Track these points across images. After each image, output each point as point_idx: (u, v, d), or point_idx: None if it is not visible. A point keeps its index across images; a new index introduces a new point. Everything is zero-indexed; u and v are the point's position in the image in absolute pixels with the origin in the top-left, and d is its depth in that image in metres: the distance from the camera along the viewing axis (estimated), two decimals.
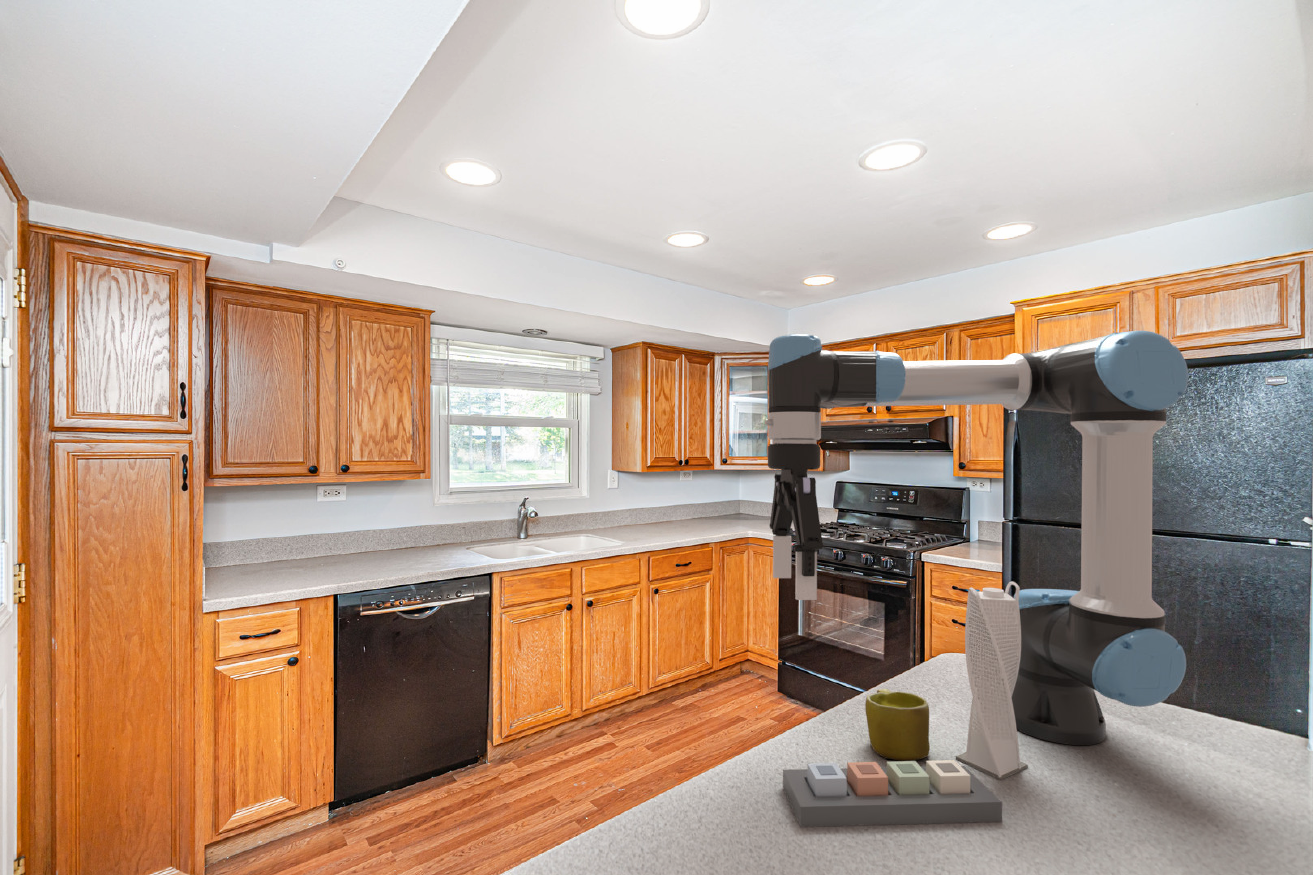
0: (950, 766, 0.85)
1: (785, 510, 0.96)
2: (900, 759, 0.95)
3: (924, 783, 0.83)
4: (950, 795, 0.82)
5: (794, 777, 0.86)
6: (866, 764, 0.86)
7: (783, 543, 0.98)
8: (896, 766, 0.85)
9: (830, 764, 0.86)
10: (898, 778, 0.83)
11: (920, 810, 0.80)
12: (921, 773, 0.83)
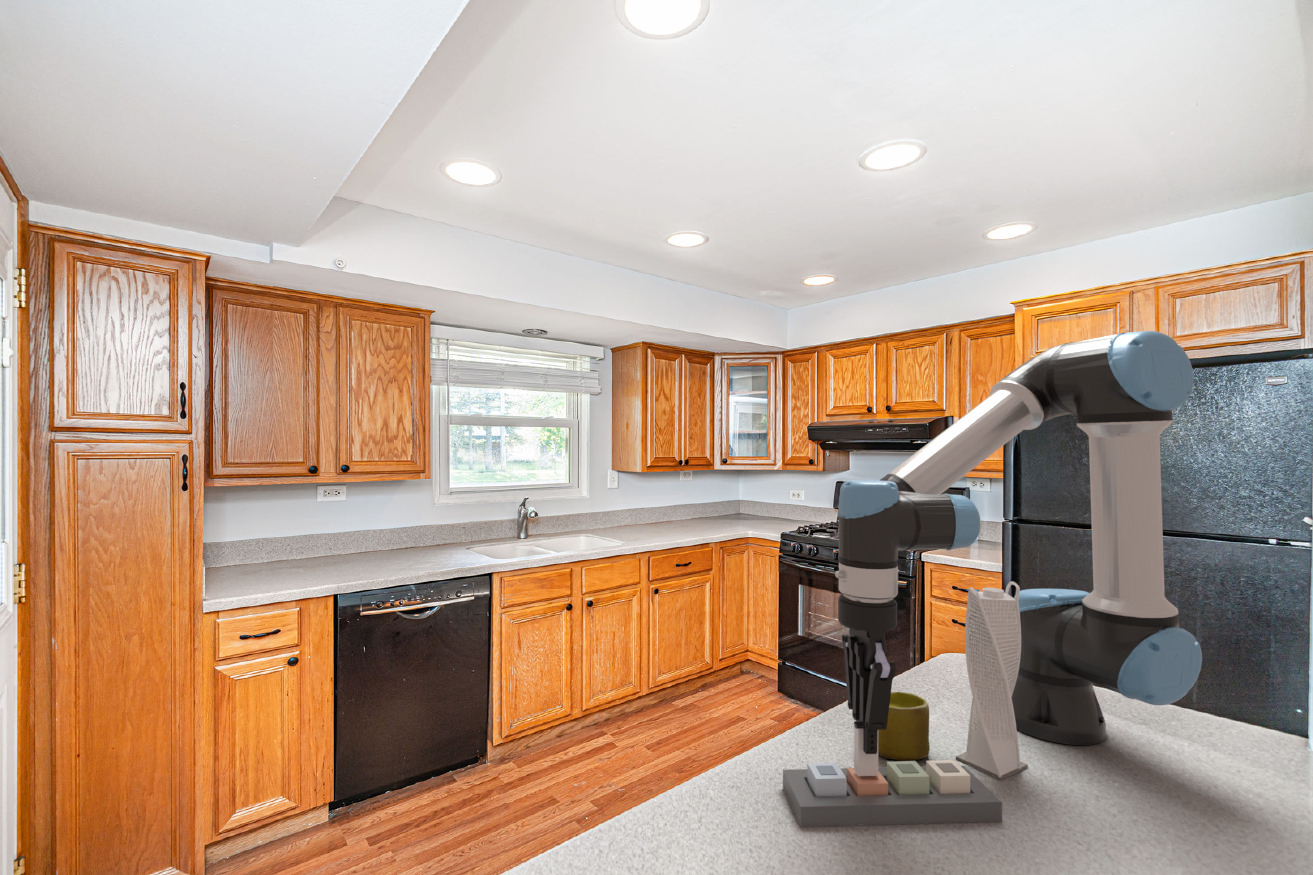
0: (950, 766, 0.85)
1: None
2: (900, 759, 0.95)
3: (924, 783, 0.83)
4: (950, 795, 0.82)
5: (794, 777, 0.86)
6: None
7: None
8: (896, 766, 0.85)
9: (830, 764, 0.86)
10: (898, 778, 0.83)
11: (920, 810, 0.80)
12: (921, 773, 0.83)
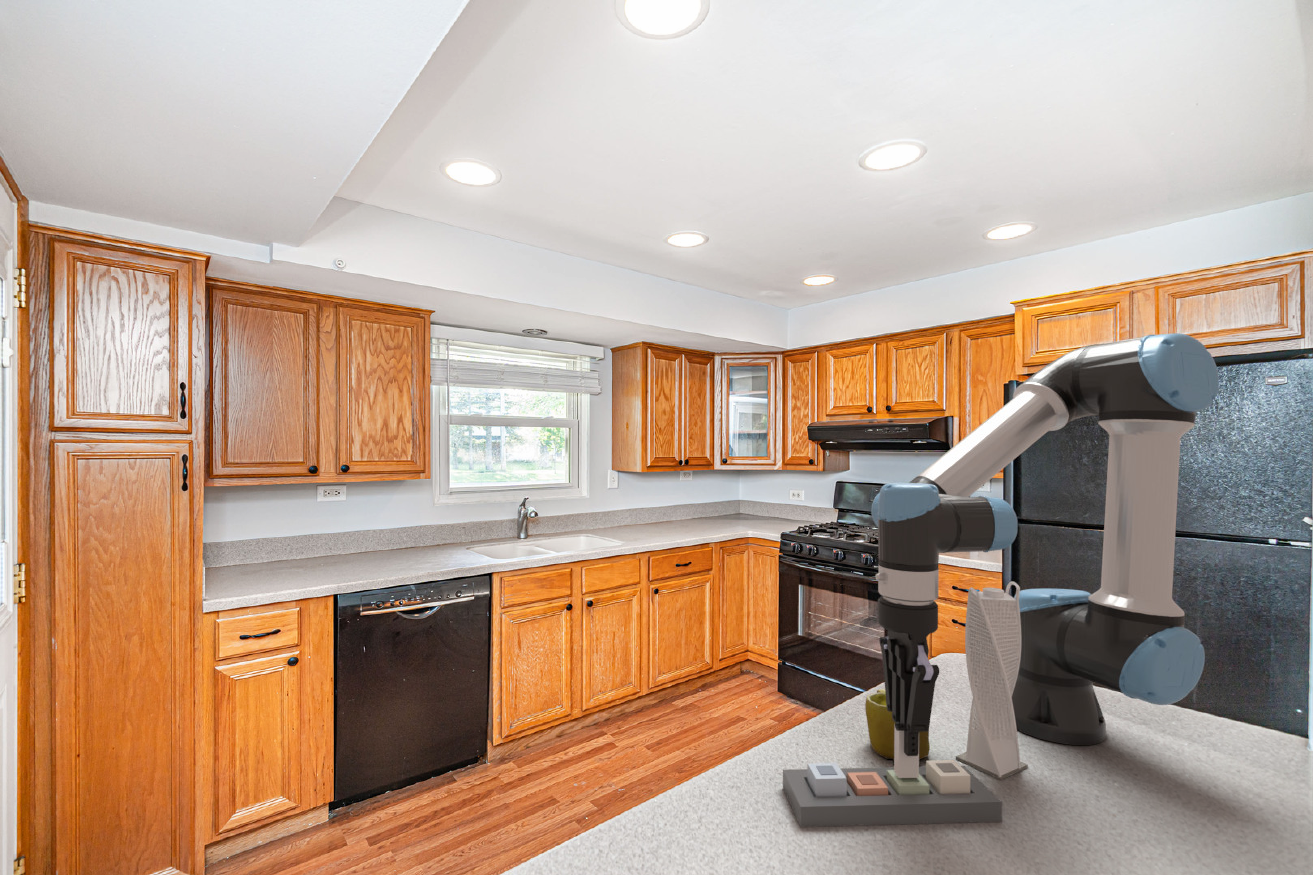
0: (950, 766, 0.85)
1: None
2: None
3: (924, 792, 0.83)
4: (950, 795, 0.82)
5: (794, 777, 0.86)
6: (866, 774, 0.86)
7: None
8: None
9: (830, 764, 0.86)
10: (898, 787, 0.83)
11: (920, 810, 0.80)
12: (921, 782, 0.83)
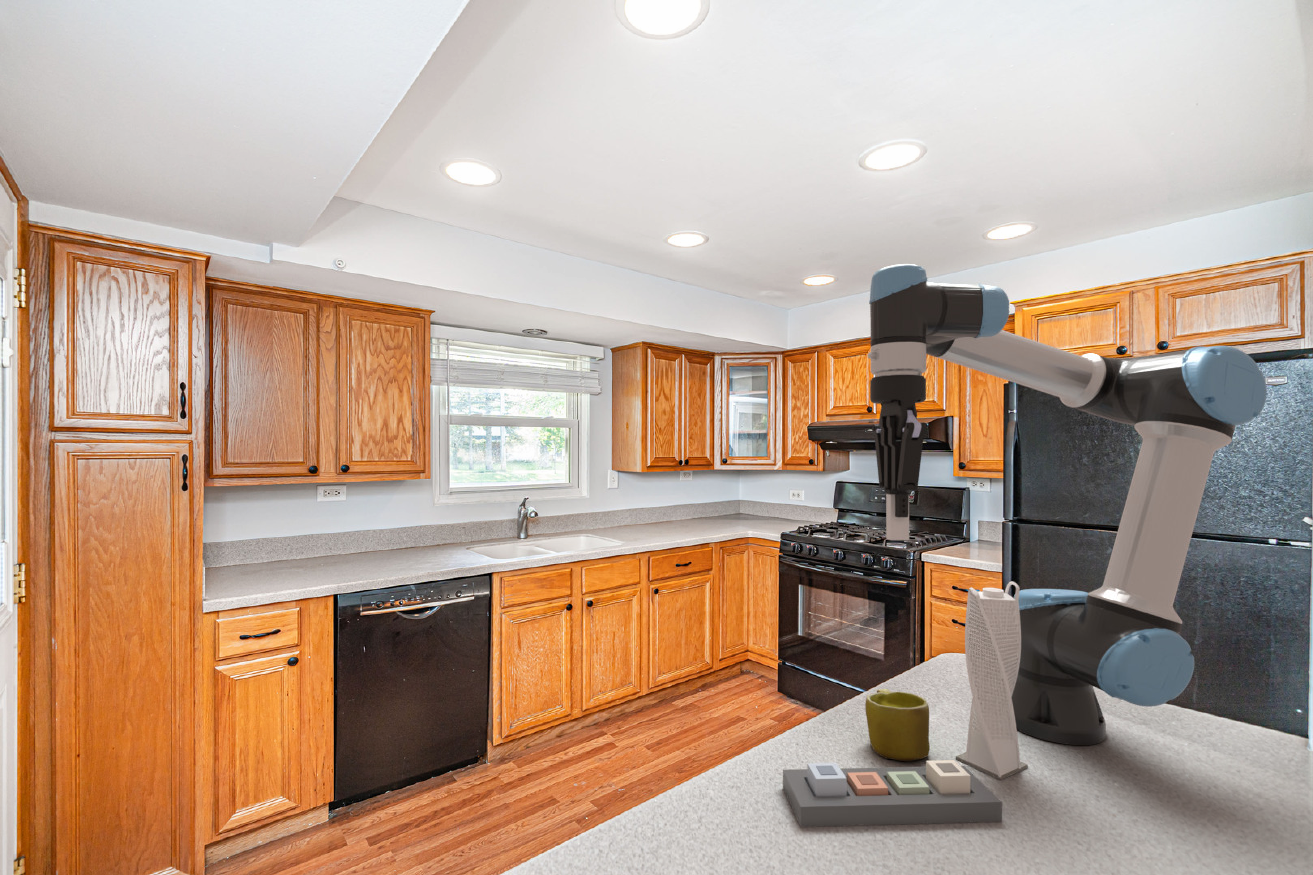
0: (950, 766, 0.85)
1: None
2: (900, 759, 0.95)
3: None
4: (950, 795, 0.82)
5: (794, 777, 0.86)
6: (866, 774, 0.86)
7: None
8: (896, 776, 0.85)
9: (830, 764, 0.86)
10: (898, 789, 0.83)
11: (920, 810, 0.80)
12: (921, 784, 0.83)
